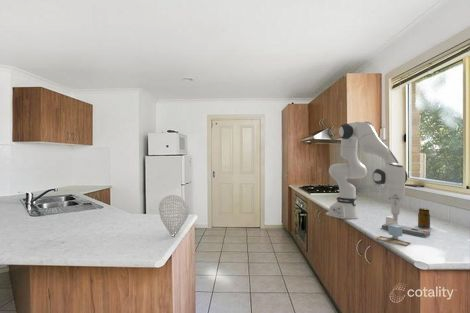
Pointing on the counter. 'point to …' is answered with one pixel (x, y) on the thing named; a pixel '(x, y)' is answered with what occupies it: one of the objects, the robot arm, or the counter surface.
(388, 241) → the oak pad
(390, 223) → the plug
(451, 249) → the counter surface
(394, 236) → the light blue block
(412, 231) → the power strip
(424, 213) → the condiment
